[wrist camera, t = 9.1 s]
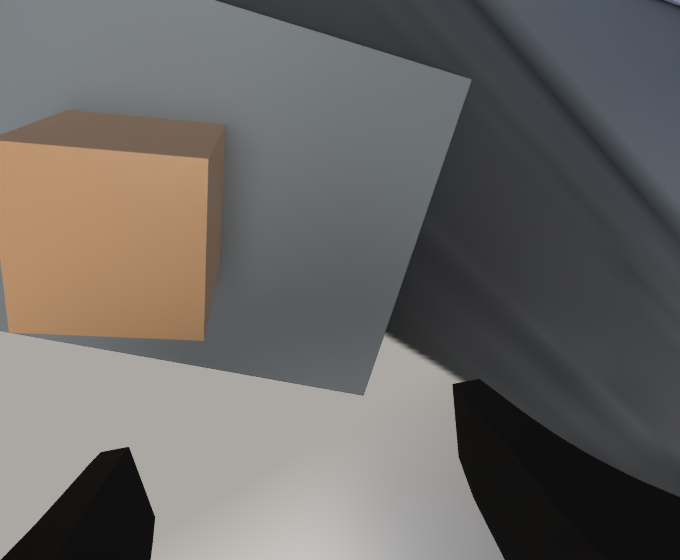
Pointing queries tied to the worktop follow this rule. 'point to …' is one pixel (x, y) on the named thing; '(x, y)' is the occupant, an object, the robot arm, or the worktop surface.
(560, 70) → the worktop surface
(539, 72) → the worktop surface
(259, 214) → the board
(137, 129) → the tan wooden cube
